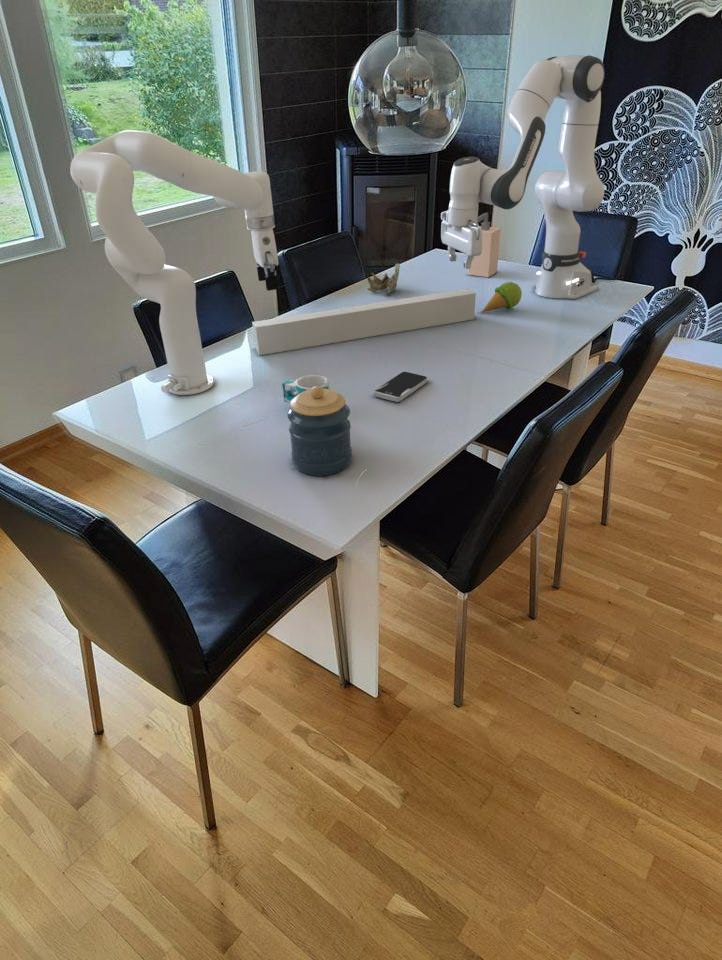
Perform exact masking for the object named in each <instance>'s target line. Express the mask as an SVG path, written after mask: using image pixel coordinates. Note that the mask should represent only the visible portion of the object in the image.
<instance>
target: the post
mask: <svg viewBox="0 0 722 960" xmlns="http://www.w3.org/2000/svg"><path fill="white" fill-rule="evenodd" d="M476 296H477V294H476V292H475V291H473V290H471V289H469V288H464V289H459V290H458V289H457V290H452V291H445V292H438V293H432V294H425V295H419V296H413V297H405V298H399V299H391V300H386V301H380V302H373V303H367V304H361V305H354V306H348V307H340V308H336V309H328V310H321V311H316V312H309V313H301V314H294V315H289V316H282V317H275V318H269V319H263V320H255V321H252V322H251V323H252V324H251V325H252V333H253V339H254V347H255V351H256V353H257V354H258V355H259V356H263V355H270V354H276V353H282V352H288V351H294V350H299V349H300V350H301V349H305V348H311V347H317V346H324V345H329V344H330V345H331V344H335V343H341V342H346V341H347V342H349V341H353V340H359V339H363V338H371V337H377V336H383V335H388V334H389V335H390V334H395V333H402V332H407V331H413V330H419V329H424V328H431V327H436V326H442V325H449V324H455V323H459V322H460V323H461V322H466V321H471V320H475V315H476Z"/></svg>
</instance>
